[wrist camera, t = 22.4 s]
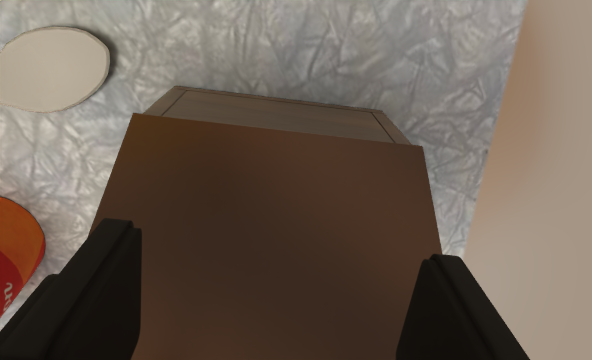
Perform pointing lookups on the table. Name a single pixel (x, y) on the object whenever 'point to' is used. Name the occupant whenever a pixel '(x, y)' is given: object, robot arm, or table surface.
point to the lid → (270, 239)
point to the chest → (277, 114)
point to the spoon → (51, 69)
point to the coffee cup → (17, 250)
